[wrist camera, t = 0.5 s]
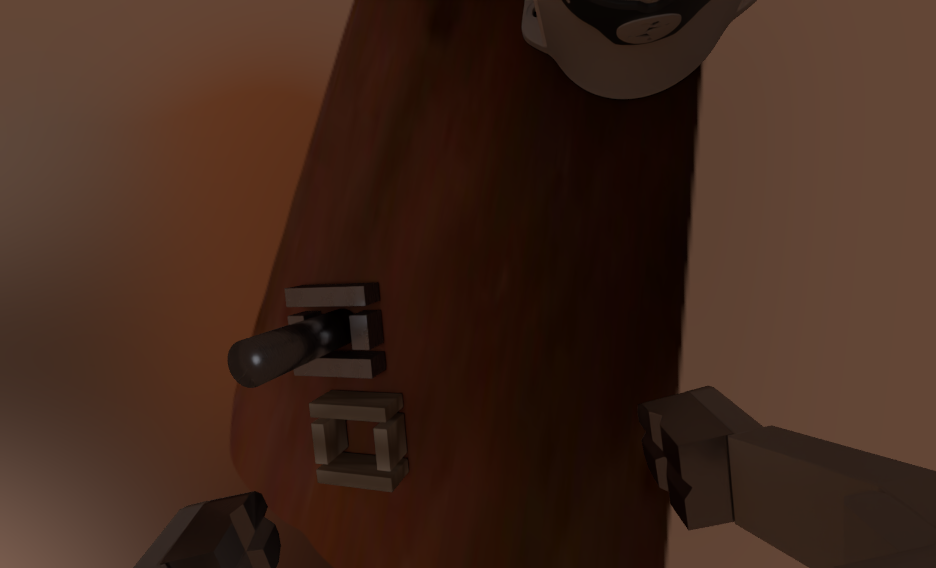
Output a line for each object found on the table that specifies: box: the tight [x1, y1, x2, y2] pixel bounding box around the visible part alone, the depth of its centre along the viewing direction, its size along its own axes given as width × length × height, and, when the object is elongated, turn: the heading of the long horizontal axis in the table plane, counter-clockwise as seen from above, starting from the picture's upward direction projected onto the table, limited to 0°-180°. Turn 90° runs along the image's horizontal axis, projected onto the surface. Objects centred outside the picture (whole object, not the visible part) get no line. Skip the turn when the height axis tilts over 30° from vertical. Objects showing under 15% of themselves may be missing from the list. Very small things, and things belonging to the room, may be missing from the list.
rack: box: [309, 390, 409, 492], centre depth 48 cm, size 9×9×4 cm
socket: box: [285, 282, 386, 378], centre depth 48 cm, size 10×10×3 cm
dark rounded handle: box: [228, 309, 353, 388], centre depth 43 cm, size 4×4×14 cm
